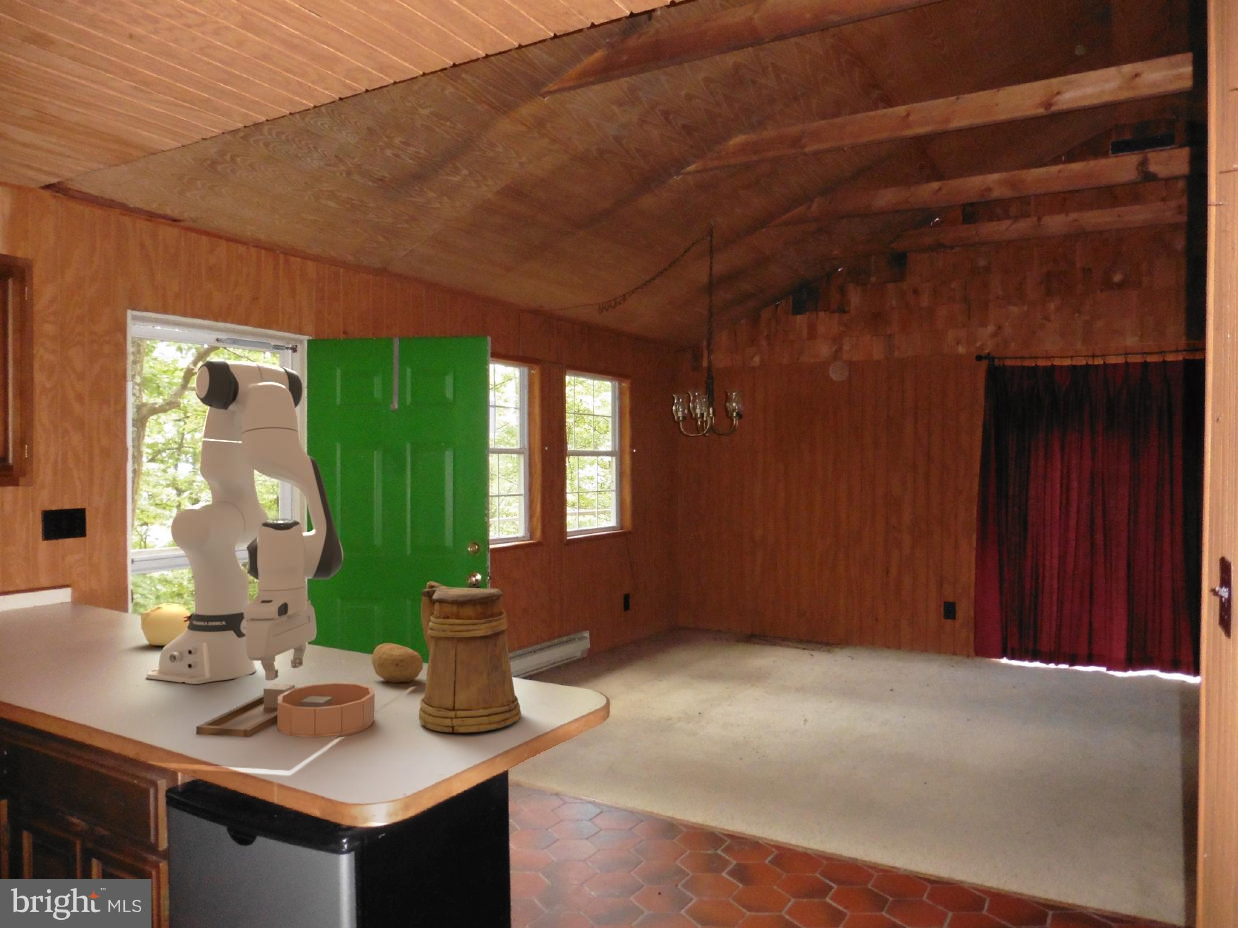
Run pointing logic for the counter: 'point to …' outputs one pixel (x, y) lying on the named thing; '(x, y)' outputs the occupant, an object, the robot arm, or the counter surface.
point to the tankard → (466, 661)
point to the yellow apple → (164, 623)
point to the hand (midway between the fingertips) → (284, 673)
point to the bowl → (326, 710)
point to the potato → (396, 663)
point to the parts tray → (241, 720)
